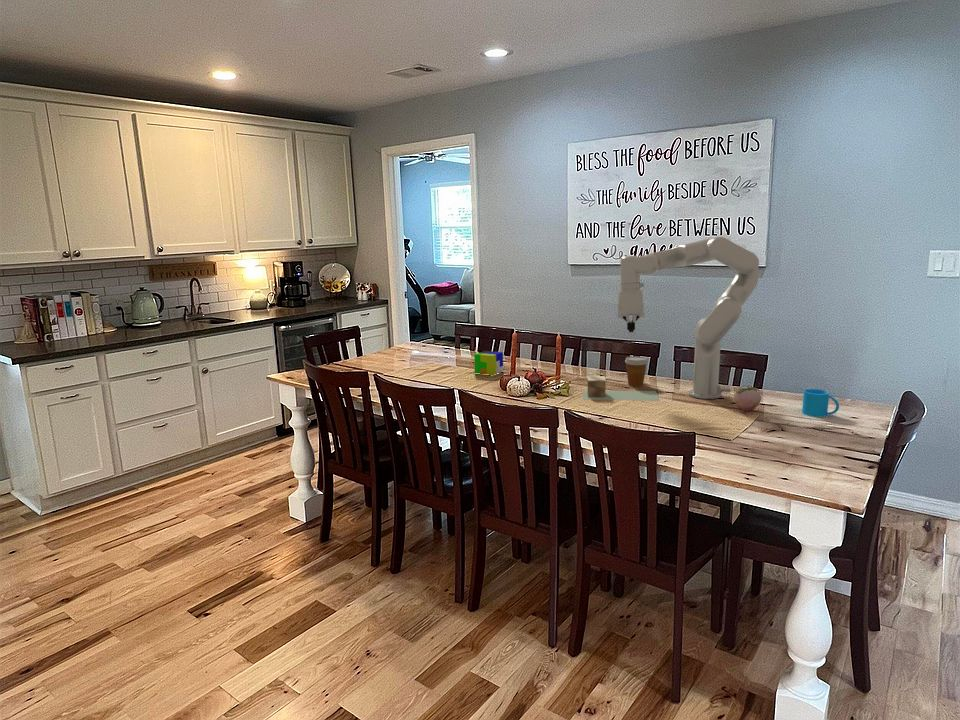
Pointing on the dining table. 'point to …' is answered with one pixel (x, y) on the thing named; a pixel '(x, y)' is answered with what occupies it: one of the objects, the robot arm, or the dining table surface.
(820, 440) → the dining table surface
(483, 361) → the puzzle toy
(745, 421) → the dining table surface
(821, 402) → the mug
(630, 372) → the disposable coffee cup
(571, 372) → the dining table surface
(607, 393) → the mat
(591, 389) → the walnut block
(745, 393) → the decorative fruit
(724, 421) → the dining table surface
